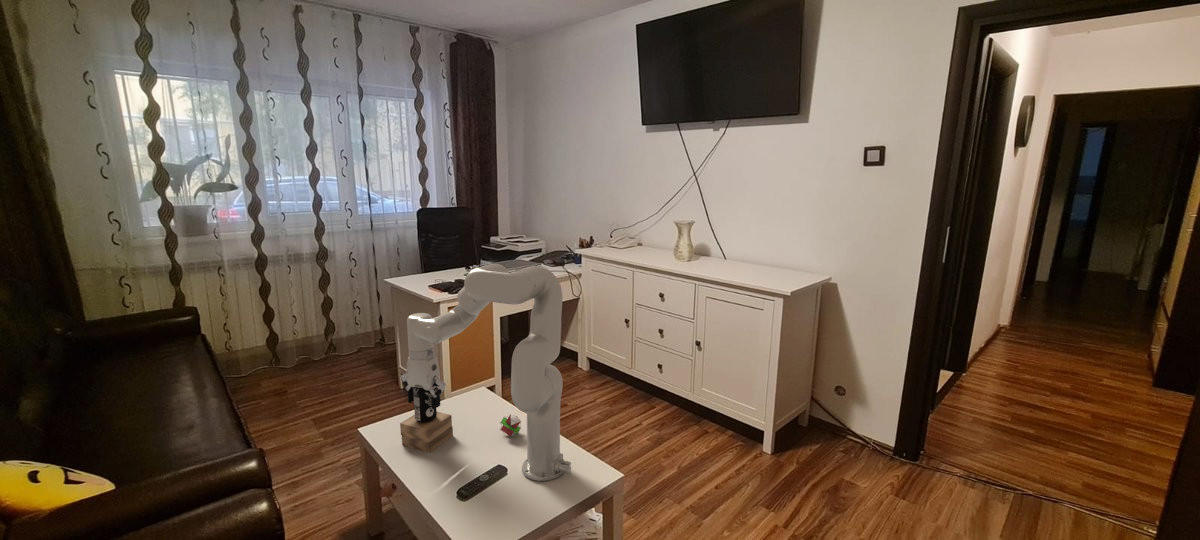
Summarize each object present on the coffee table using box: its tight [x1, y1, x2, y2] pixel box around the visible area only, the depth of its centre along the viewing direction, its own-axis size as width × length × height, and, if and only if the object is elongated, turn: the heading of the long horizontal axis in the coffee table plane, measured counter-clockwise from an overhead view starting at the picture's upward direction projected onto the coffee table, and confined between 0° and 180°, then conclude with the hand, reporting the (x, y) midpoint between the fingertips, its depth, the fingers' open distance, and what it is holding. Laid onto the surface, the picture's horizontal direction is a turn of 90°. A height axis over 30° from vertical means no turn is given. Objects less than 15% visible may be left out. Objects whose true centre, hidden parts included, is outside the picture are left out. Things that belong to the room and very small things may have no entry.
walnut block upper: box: [399, 411, 453, 442], centre depth 162 cm, size 11×11×4 cm
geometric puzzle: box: [499, 413, 522, 436], centre depth 166 cm, size 7×7×8 cm
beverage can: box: [413, 385, 438, 423], centre depth 161 cm, size 7×7×12 cm
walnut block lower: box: [401, 425, 454, 454], centre depth 163 cm, size 11×11×4 cm
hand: (424, 404), depth 161 cm, fingers open, 9 cm apart
